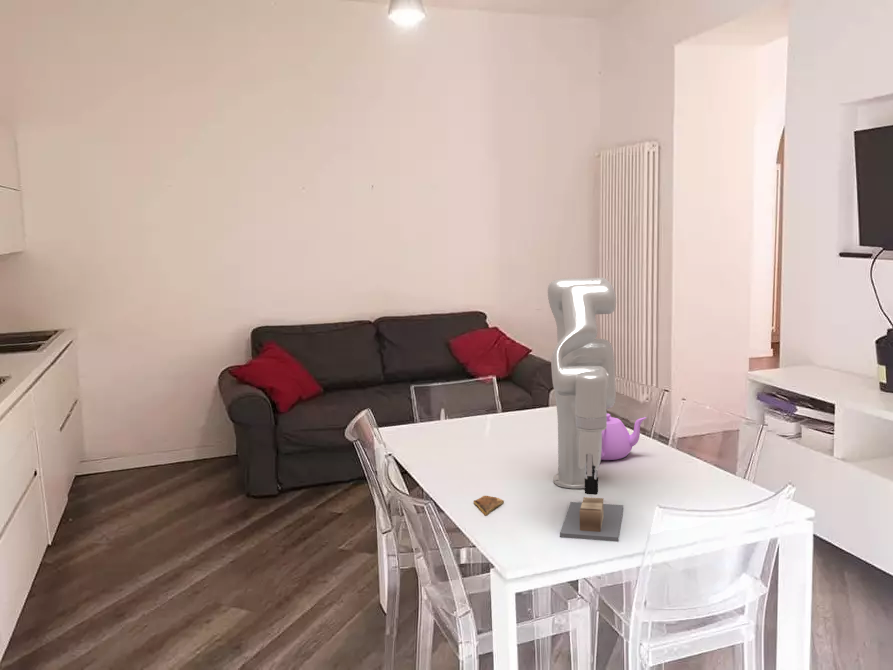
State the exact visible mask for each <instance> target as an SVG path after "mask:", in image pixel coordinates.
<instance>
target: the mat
mask: <svg viewBox="0 0 893 670" xmlns="http://www.w3.org/2000/svg"><path fill="white" fill-rule="evenodd" d="M581 505H582V501H581V502H580V501H569V506H568V508H567V511H566V514H565V518H564V520H563V522H562V523H563V524H562V527H561V529H560V533H559V537H560V538H569V539H570V538H571V539H582V540H584V539H585V540H594V541H595V540H596V541H609V542H619V539H620V531H621V525H622V519H623V512H624V505H623V504H612V503H603V521H602V526H601V531H600V532H595V531H581V530H580V508H581Z"/></svg>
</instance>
